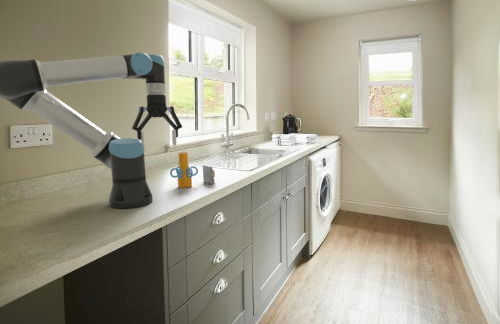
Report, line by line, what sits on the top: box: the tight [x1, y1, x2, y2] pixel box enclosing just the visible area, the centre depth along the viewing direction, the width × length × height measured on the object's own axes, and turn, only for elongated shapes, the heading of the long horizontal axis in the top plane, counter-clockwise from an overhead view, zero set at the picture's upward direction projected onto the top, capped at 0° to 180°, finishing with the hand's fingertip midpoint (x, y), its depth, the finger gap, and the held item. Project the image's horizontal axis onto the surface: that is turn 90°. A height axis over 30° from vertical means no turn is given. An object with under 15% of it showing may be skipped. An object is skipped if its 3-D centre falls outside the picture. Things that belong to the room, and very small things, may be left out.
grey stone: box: [202, 164, 216, 186], centre depth 159 cm, size 3×8×8 cm, turn 31°
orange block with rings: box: [169, 151, 199, 189], centre depth 153 cm, size 12×10×15 cm
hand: (158, 146), depth 146 cm, fingers open, 13 cm apart
